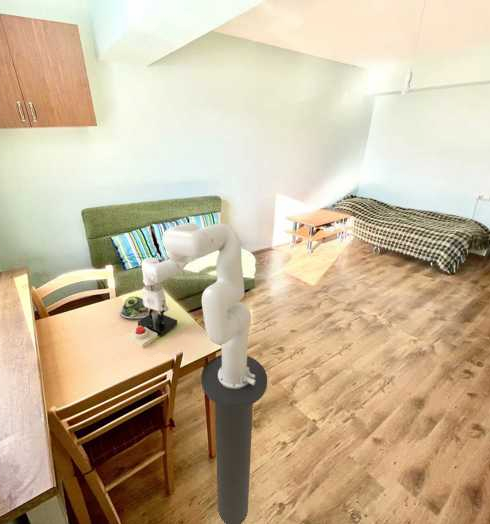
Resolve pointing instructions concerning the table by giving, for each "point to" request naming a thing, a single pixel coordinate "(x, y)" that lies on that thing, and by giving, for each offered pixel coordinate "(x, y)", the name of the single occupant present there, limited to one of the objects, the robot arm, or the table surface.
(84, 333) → the table surface
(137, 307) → the salad plate
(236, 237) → the robot arm
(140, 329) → the igniter button
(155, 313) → the stove knob
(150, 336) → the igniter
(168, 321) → the hob panel
